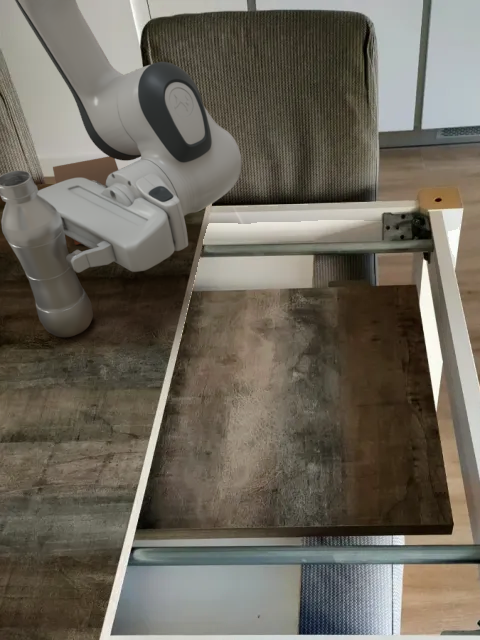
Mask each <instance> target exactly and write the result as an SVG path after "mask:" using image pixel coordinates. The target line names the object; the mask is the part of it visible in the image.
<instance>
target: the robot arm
mask: <svg viewBox="0 0 480 640" xmlns="http://www.w3.org/2000/svg"><path fill="white" fill-rule="evenodd" d="M14 1H15V3H16V5H17V7H18V8H19V10H20V12H21V13H22V16H23V17H24V19H25V20H26V21H27V23H28V25H29V26H30V28H31V30H32V31H33V33H34V34H35V36H36V38H37V40H38V42H39V43H40V44H41V46H42V47H43V49H44V51H45V52H46V54H47V56H48V58H50V60H51V61H52V63H53V65H54V67H55V68H56V69H57V72H58V73H59V74H60V76H61V78H62V79H63V81H64V82H65V84H66V86H67V87H68V89H69V92H70V93H71V95H72V97H73V99H74V101H75V103H76V106H77V109H78V112H79V115H80V118H81V121H82V124H83V126H84V129H85V131H86V133H87V135H88V137H89V138H90V140H91V141H92V143H93V144H94V145H95V147H97V149H98V150H99V151H101V152H102V153H103V154H105V155H106V156H107V157H109V156H110V157H112V158H114V159H115V160H118V161H123V162H125V161H126V162H128V161H134V162H132V163H130V164H128V165H125V166H124V167H121V168H118V170H117V171H115V172H113V173H111V174H110V175H109V176H108V177H107V180H106V185H102V184H101V183H100V182H98V181H95V180H92V181H90V180H88V179H85V178H72V179H68V180H65V181H62V182H59V183H57V184H56V183H54V184H52V185H49V186H47V187H44V188H41V189H38V193H37V195H39V196H40V197H42V198H43V199H45V200H47V201H48V202H49V203H50V204H52V205H53V206H54V207H55V208H56V210H57V211H58V213H59V214H60V216H61V220H62V223H63V228H64V234H65V236H66V237H69V238H70V239H72V240H73V241H74V240H76V241H78V242H79V243H81V244H80V245H83V246H85V247H86V248H88V249H86V250H83V251H81V250H80V249H78V248H77V249H76V250H74V251H72V252H71V253H69V254H68V255H67V256H66V261H67V262H68V266H69V267H70V268H71V269H73V270H74V271H75V273H79V274H80V273H82V272H84V271H85V270H87V269H89V268H94V267H101V266H102V267H103V266H108V265H110V264H112V263H116V264H117V265H119V266H121V267H123V268H125V269H126V270H128V271H129V272H131V273H137V272H145V271H147V270H149V269H151V268H153V267H155V266H157V265H158V264H160V263H162V262H164V261H165V260H166V259H168V258H170V257H171V256H172V255H173V254H174V253H175V252H179V251H182V250H184V249H186V248H187V247H188V246H189V238H188V232H187V231H188V230H187V225H186V220H185V216H187V215H189V214H195V213H198V212H200V211H203V210H204V209H206V208H207V207H209V206H210V205H212V204H214V203H216V202H217V201H218V200H219V199H221V198H222V197H224V196H225V195H226V194H227V193H228V192H230V191H231V190H232V189H233V187H234V186H236V184H237V182H238V180H239V179H240V176H241V173H242V167H243V162H242V155H241V150H240V147H239V145H238V142H237V141H236V139H235V138H234V137H233V135H232V134H231V133H230V132H229V131H228V130H226V129H225V128H224V127H222V126H220V125H219V124H218V123H217V122H216V121H215V120H214V118H213V117H212V116H211V114H210V112H209V111H208V110H207V108H206V106H205V105H204V102H203V99H202V96H201V93H200V91H199V88H198V86H197V85H196V83H195V81H194V79H192V77H191V76H190V75H189V74H188V73H187V72H186V71H185V70H184V69H183V68H181V67H179V66H178V65H176V64H174V63H171V62H168V61H157V62H154V63H151V64H148V65H145V66H142V67H139V68H136V69H135V70H133V71H130V72H127V73H125V74H124V73H121V72H120V71H118V70H117V69H116V68H115V67H114V66H113V65H112V64H111V62H110V61H109V59H108V57H107V55H106V54H105V52H104V50H103V49H102V46H101V44H100V43H99V42H98V40H97V38H96V36H95V35H94V32H93V30H92V29H91V27H90V25H89V24H88V22H87V20H86V18H85V17H84V15H83V13H82V11H81V9H80V8H79V6H78V3H77V0H14ZM139 158H140V159H139ZM137 159H138V160H137ZM135 160H137V161H135Z"/></svg>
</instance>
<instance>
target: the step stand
mask: <svg viewBox="0 0 480 640" xmlns="http://www.w3.org/2000/svg"><path fill="white" fill-rule="evenodd" d="M117 170H119V167H118V164H117V161H116V159H114V158H112V157H110V156H104V157H103V156H102V157H98V158H93V159H87V160H84V161H83V160H82V161H76V162H71V163H67V164H66V163H65V164H61V165H56V166H52V171H53V175H54V181H55V184H57V183H59V182H62V181H65V180H68V179H72V178H85V179H88V180H90V181H92V180H95V181H98V182H100V183H101V184H102V185H106V180H107V177H108V176H109V175H110V174H111V173H113V172H115V171H117ZM73 242H74V245H75V246H77V245H82V244H81V243H79V242H78V241H76V240H74V239H73Z"/></svg>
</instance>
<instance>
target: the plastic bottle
mask: <svg viewBox="0 0 480 640" xmlns="http://www.w3.org/2000/svg"><path fill="white" fill-rule="evenodd" d="M38 191H39V188H38V185H37V184H36V183H35V181H34V178H33V175H32V173H30V171H27V170H22V169H21V170H11V171H8V172H5V173H3V174H1V175H0V198H1V200H2V202H5V205H4V208H3V211H2V216H1V223H0V224H1V231H2V234H3V235H4V238H5V240H6V241H7V243H8V245H9V246H10V248H11V250H12V251H13V253H14V254H15V256H16V258H17V259H18V261H19V263H20V265H21V267H22V269H23V271H24V273H25V275H26V278H27V279H28V283H29V286H30V289H31V292H32V295H33V298H34V301H35V308H36V313H37V316H38V321H39V322H40V324H41V325H42V326H43V328H44V330H45V331H46V332H48V333H49V334H51V335H53V336H55V337H58V338H70V337H74V336H76V335H80V334H81V333H83V332H84V331H86V330H87V329H88V328H89V326H90V325H91V323H92V320H93V317H94V311H93V305H92V304H93V303H92V301H91V299H90V297H89V296H88V294H87V292H86V290H85V289H84V287H83V286H82V284H81V282H80V279H79V277H78V275H77V272H76V271H74V270H73V269H71V268H70V267H69V266H68V262H67V261H66V256H67V255H68V254H70V252H69V249H68V245H67V240H66V235H65V234H64V228H63V223H62V220H61V216H60V214H59V213H58V211H57V210H56V208H55V207H54V206H53V205H52V204H50V203H49V202H48V201H47V200H45V199H43V198H42V197H40V196H39V195H37V193H38Z"/></svg>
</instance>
